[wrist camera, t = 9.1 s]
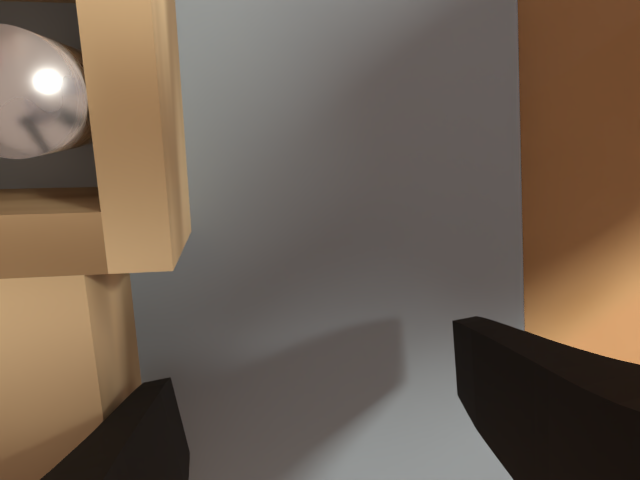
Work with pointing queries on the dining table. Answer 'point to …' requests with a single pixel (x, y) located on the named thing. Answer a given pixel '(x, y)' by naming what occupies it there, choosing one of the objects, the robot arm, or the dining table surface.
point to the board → (328, 230)
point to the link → (92, 242)
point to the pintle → (40, 95)
